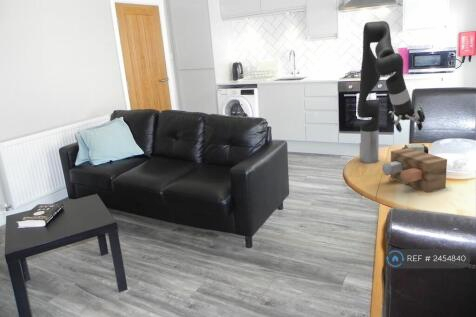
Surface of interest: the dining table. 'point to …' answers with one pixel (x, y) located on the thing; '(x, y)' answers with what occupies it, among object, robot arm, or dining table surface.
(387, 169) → the grey plug
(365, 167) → the dining table surface
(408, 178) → the terracotta plug
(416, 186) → the socket block
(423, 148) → the pneumatic valve
